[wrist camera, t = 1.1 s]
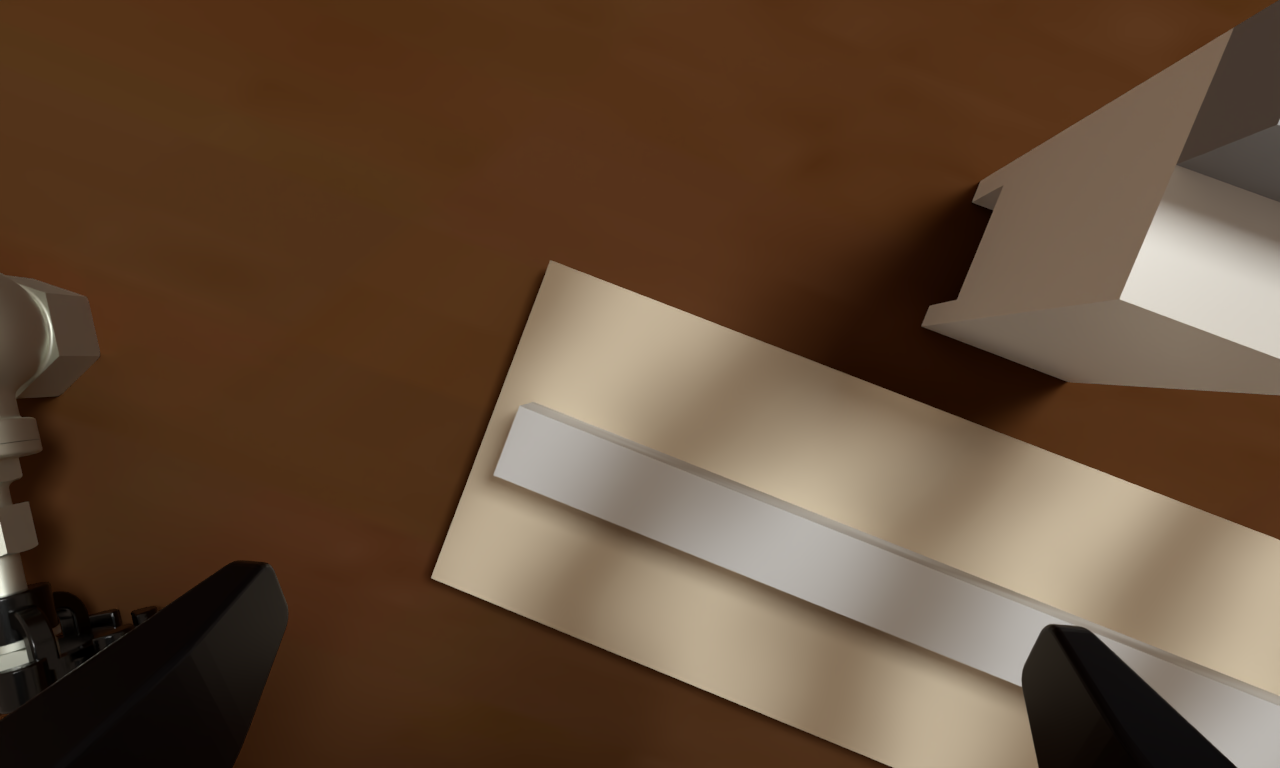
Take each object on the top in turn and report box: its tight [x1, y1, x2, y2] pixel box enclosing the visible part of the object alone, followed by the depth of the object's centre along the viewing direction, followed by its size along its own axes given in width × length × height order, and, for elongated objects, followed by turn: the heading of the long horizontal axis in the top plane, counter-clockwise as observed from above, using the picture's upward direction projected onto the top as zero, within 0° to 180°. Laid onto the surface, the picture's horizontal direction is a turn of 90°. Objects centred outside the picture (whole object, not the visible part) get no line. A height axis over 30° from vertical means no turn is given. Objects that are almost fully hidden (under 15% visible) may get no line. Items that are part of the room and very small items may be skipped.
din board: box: [431, 260, 1280, 768], centre depth 21 cm, size 26×10×3 cm, turn 69°
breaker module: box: [921, 0, 1280, 395], centre depth 15 cm, size 4×5×12 cm
